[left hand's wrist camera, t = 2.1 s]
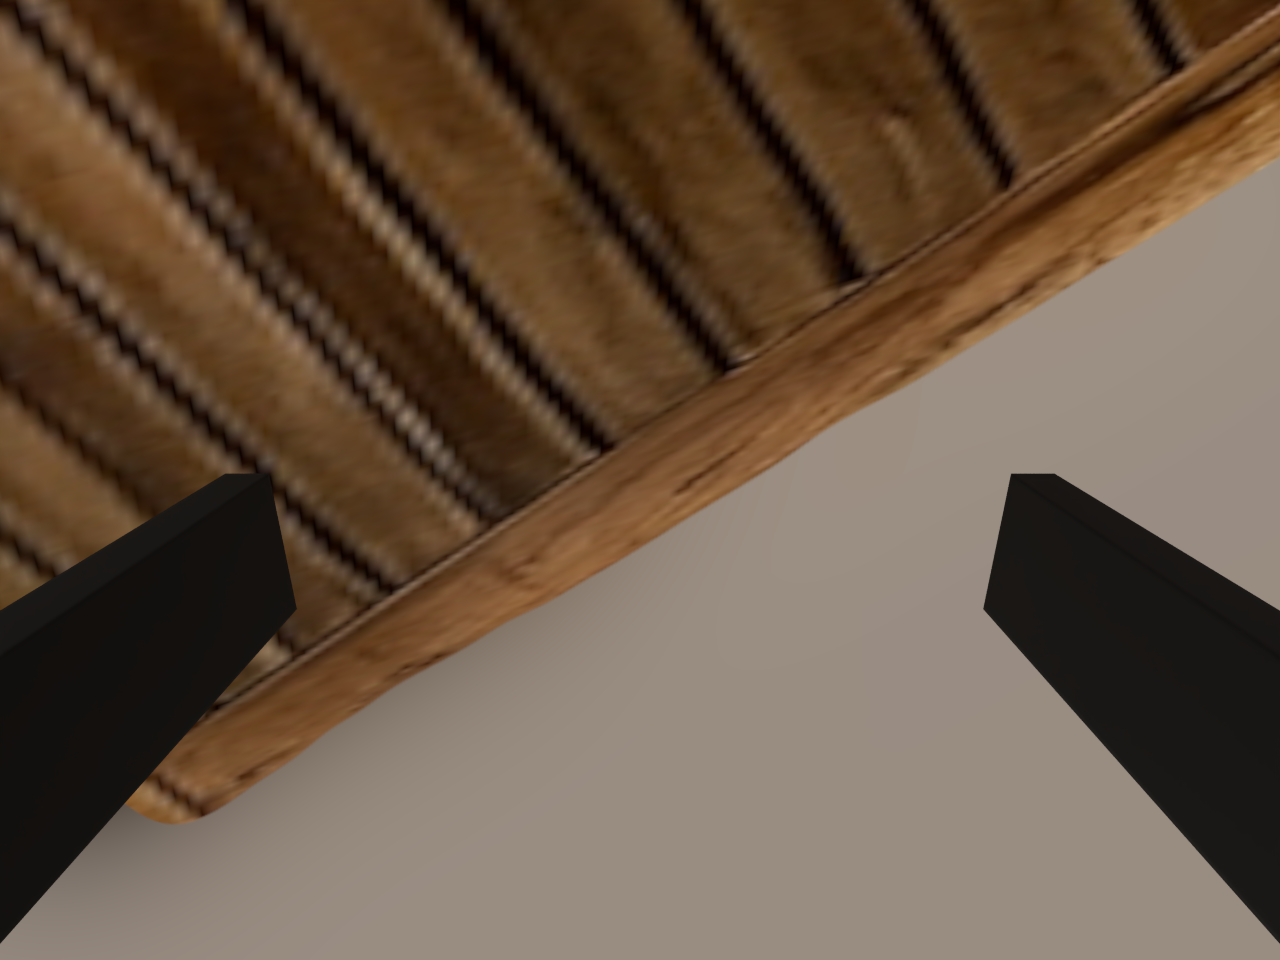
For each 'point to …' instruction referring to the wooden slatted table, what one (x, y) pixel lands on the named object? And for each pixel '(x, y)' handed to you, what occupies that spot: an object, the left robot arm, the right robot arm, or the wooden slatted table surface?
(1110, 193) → the wooden slatted table surface
